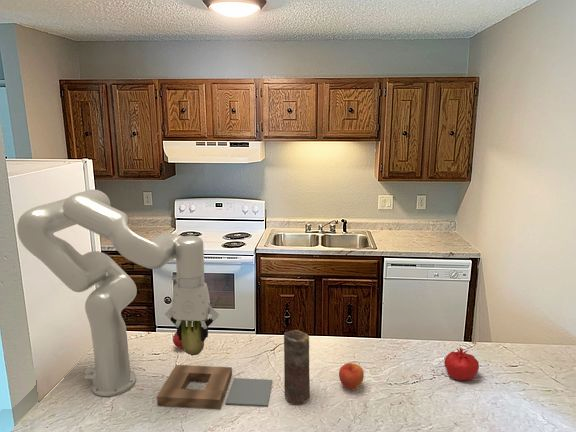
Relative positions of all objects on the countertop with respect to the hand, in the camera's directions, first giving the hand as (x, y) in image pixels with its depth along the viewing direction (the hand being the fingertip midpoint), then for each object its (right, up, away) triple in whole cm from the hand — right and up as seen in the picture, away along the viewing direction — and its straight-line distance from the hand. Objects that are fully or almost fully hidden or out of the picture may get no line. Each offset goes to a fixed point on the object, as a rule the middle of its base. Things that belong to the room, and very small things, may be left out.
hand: (192, 338), depth 123 cm
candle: (+30, -18, 0) cm, 35 cm away
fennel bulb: (0, -5, +1) cm, 5 cm away
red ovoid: (-10, -12, +27) cm, 31 cm away
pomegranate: (+82, -15, +11) cm, 84 cm away
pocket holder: (0, -17, +4) cm, 17 cm away
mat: (+16, -17, +2) cm, 24 cm away
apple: (+47, -17, +5) cm, 50 cm away
